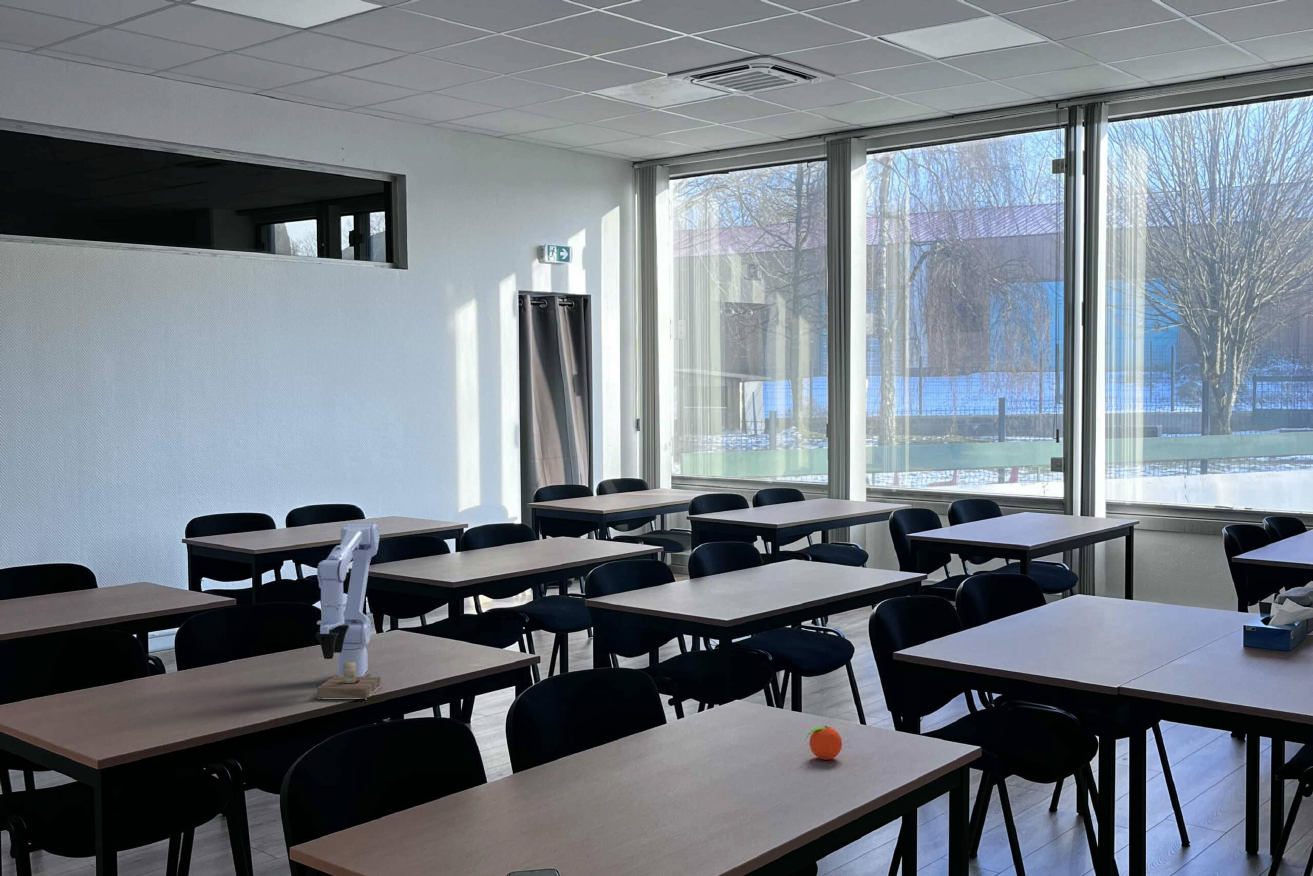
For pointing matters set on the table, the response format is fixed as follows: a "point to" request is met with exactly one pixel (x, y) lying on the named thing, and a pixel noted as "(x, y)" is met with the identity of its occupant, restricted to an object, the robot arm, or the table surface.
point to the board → (348, 688)
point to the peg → (349, 673)
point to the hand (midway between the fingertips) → (333, 655)
